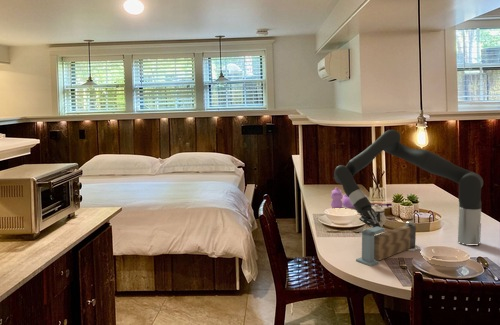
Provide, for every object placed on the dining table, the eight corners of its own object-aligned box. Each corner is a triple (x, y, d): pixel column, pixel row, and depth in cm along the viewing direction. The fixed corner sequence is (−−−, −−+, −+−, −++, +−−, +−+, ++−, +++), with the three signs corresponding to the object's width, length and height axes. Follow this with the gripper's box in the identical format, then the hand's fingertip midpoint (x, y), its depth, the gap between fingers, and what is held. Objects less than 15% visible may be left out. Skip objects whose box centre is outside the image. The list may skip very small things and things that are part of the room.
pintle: (417, 244, 209) (418, 219, 207) (421, 250, 200) (422, 224, 199) (397, 244, 210) (398, 219, 209) (401, 250, 202) (401, 224, 200)
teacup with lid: (363, 224, 245) (364, 204, 244) (376, 222, 249) (376, 202, 247) (378, 229, 234) (379, 208, 233) (391, 227, 238) (392, 206, 237)
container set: (357, 202, 300) (358, 183, 298) (371, 206, 286) (371, 186, 284) (325, 206, 292) (325, 186, 290) (338, 211, 277) (338, 190, 276)
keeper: (373, 255, 196) (373, 225, 195) (388, 259, 190) (388, 229, 188) (355, 260, 190) (356, 230, 188) (370, 266, 183) (371, 234, 182)
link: (407, 244, 209) (408, 223, 207) (417, 246, 205) (418, 225, 204) (370, 258, 191) (371, 235, 190) (380, 261, 187) (381, 238, 186)
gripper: (364, 203, 218) (384, 233, 210) (345, 207, 211) (366, 238, 202) (373, 194, 213) (394, 224, 205) (354, 198, 206) (375, 229, 197)
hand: (380, 231), depth 204 cm, fingers closed
